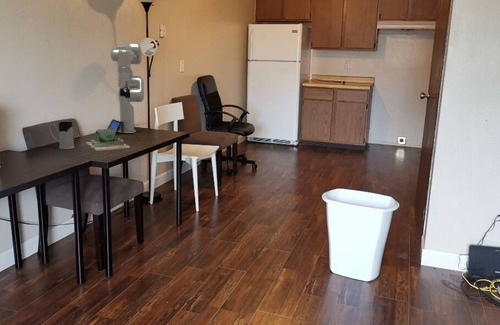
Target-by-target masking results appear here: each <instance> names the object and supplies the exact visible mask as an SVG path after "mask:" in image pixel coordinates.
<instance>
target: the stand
mask: <svg viewBox="0 0 500 325" xmlns="http://www.w3.org/2000/svg"><path fill="white" fill-rule="evenodd" d="M85 144H86V145H87V146H88V147H90V148H91V149H93V150H95V151H96V152H99V151H100V152H101V151H111V150H113V151H114V150H125V148H126V149H130V148H131V146H130V145H128V144H126V143H125V140H123V139H121V138H119V137H115V141H114V142H101V143H99V138H98V139H97V138H96V139H91V140H90V142H89V141H88V142H86V143H85Z"/></svg>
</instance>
